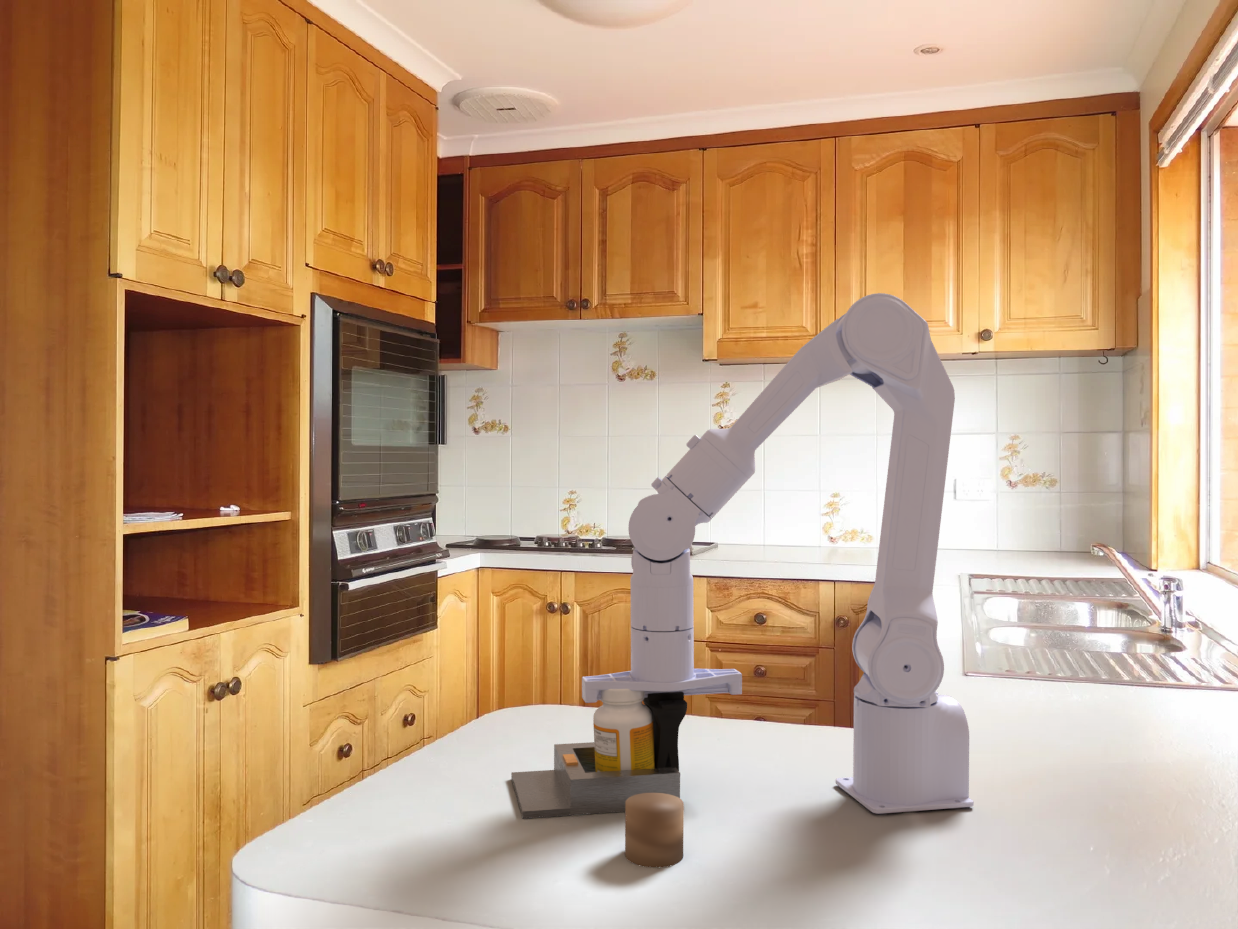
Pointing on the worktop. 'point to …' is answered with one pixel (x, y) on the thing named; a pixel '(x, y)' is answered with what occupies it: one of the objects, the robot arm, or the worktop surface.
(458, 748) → the worktop surface
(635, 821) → the knob
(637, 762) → the supplement bottle
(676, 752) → the robot arm
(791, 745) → the worktop surface
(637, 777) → the socket
